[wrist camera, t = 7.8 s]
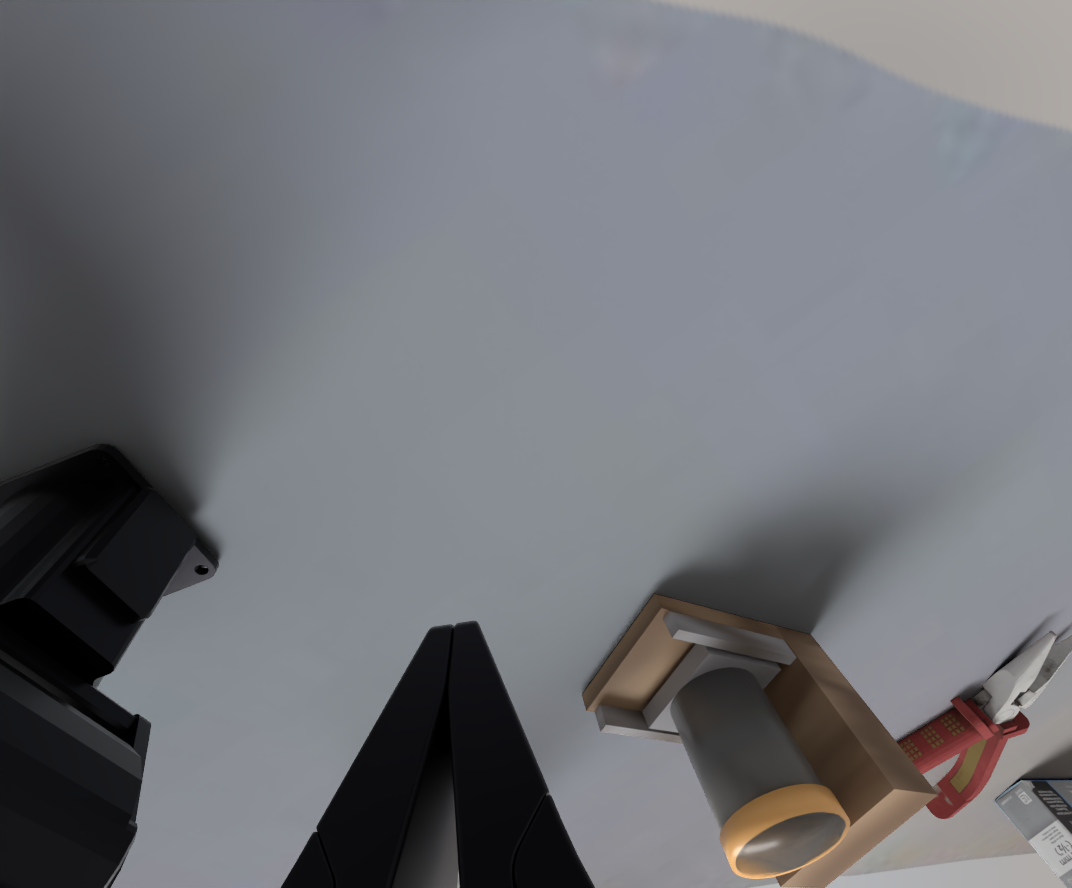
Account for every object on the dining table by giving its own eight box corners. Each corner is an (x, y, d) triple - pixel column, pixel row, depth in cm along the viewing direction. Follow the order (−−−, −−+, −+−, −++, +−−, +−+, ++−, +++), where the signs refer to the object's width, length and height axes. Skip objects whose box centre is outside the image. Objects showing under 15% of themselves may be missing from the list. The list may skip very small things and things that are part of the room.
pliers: (1100, 627, 37) (1143, 658, 35) (927, 793, 46) (952, 826, 43) (989, 610, 34) (1029, 642, 32) (824, 792, 42) (846, 828, 40)
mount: (582, 694, 30) (635, 883, 22) (654, 593, 27) (744, 769, 19) (734, 720, 34) (824, 888, 26) (811, 634, 31) (938, 794, 23)
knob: (639, 711, 30) (703, 880, 23) (697, 637, 27) (787, 800, 20) (713, 723, 31) (793, 883, 24) (773, 655, 29) (879, 809, 22)
